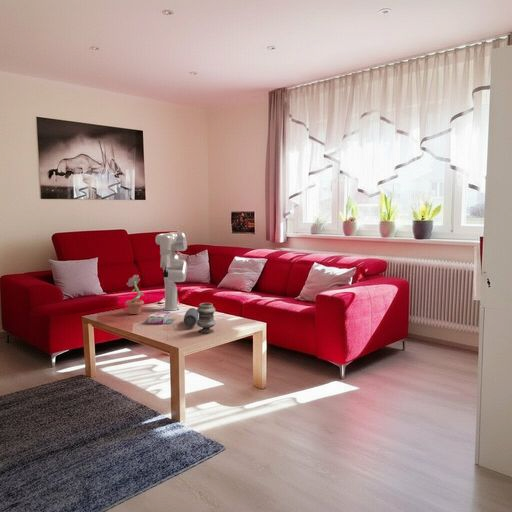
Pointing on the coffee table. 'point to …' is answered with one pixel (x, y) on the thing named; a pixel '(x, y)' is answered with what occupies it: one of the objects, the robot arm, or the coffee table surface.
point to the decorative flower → (135, 304)
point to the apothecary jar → (206, 317)
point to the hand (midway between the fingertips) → (165, 277)
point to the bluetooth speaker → (191, 317)
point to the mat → (163, 323)
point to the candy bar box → (158, 317)
